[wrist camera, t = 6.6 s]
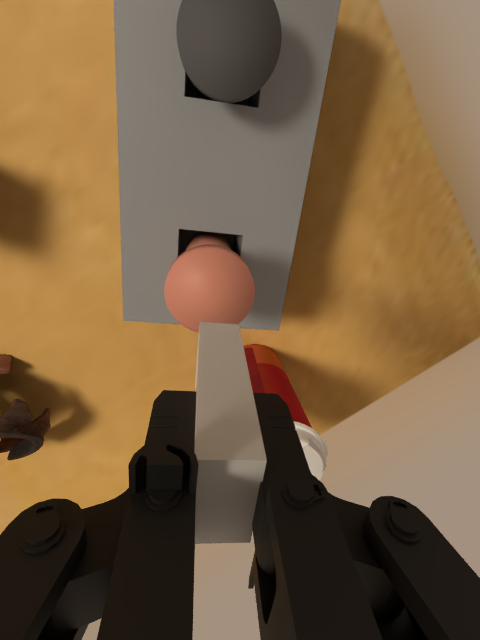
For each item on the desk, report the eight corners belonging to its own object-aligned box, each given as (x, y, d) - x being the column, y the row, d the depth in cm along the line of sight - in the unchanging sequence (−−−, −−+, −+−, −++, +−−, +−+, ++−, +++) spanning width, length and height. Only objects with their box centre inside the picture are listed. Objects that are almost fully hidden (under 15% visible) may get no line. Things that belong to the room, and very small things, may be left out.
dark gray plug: (187, 25, 22) (178, -46, 15) (261, 38, 23) (290, -22, 15) (183, 112, 25) (174, 91, 17) (251, 122, 25) (272, 107, 17)
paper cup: (221, 398, 38) (229, 516, 26) (213, 339, 35) (219, 442, 22) (289, 390, 39) (330, 502, 26) (288, 330, 35) (335, 427, 23)
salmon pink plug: (177, 217, 25) (165, 244, 17) (243, 224, 26) (261, 253, 18) (174, 281, 27) (163, 330, 19) (236, 286, 28) (248, 336, 20)
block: (137, -24, 22) (111, -95, 16) (310, 11, 24) (348, -41, 18) (139, 288, 32) (123, 320, 25) (264, 297, 33) (278, 330, 27)
